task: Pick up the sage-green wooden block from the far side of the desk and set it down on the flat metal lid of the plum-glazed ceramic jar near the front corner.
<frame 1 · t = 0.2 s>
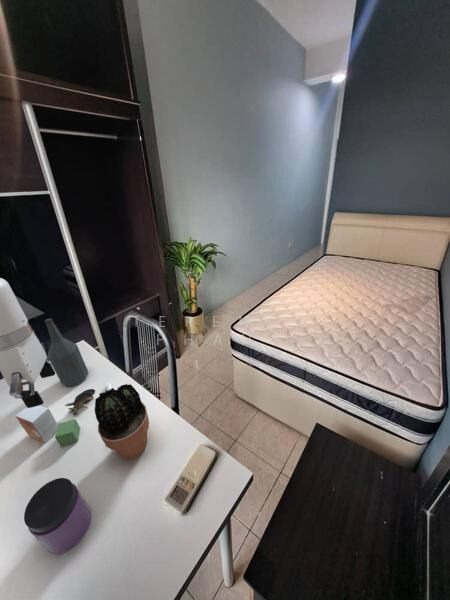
hand: (42, 389, 61), 30 cm above the table, tool pointing down, fingers open, 9 cm apart
jar: (69, 526, 61), on the table
block: (70, 437, 82), on the table
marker: (114, 399, 95), on the table
potted plant: (133, 445, 78), on the table
bottle: (75, 378, 105), on the table
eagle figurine: (84, 406, 92), on the table
jar lid: (50, 502, 55), point 12 cm above the table, screwed on, not yet turned
small box: (45, 432, 84), on the table
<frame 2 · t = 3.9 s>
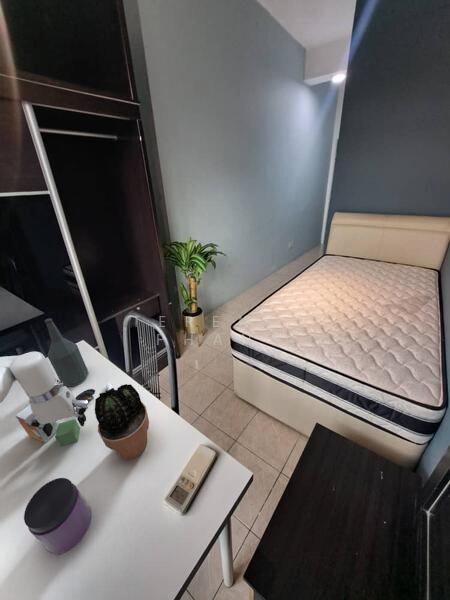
hand: (67, 427, 79), 5 cm above the table, tool pointing down, fingers open, 9 cm apart
small box: (45, 432, 84), on the table, touching gripper
everything else where it was.
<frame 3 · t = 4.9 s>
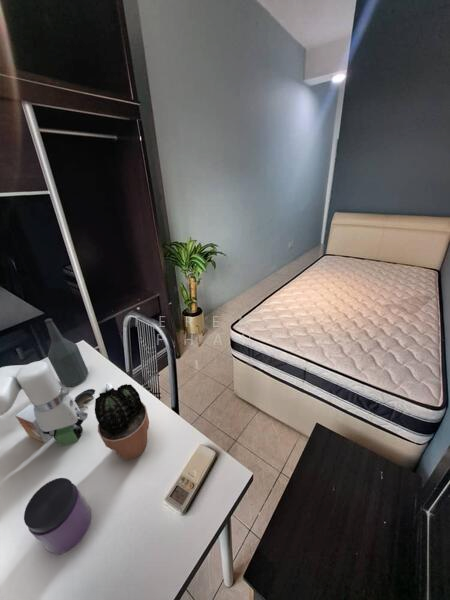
hand: (70, 436, 81), 0 cm above the table, tool pointing down, fingers closed on block, 5 cm apart
block: (70, 437, 82), on the table, touching gripper
small box: (45, 432, 84), on the table
everything else where it was.
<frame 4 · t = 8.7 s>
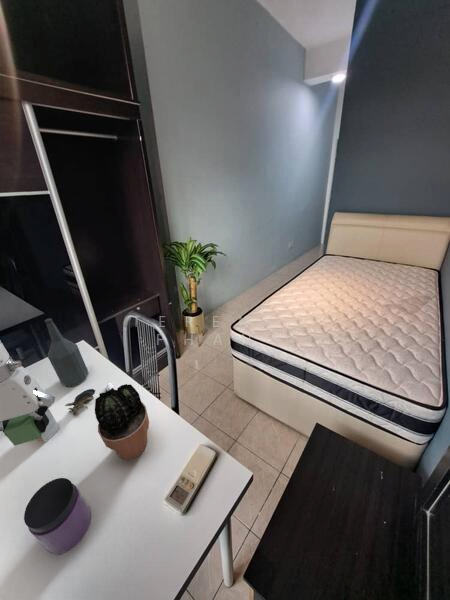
hand: (30, 430, 56), 26 cm above the table, tool pointing down, fingers closed on block, 5 cm apart
block: (31, 432, 56), point 25 cm above the table, touching gripper
everything else where it was.
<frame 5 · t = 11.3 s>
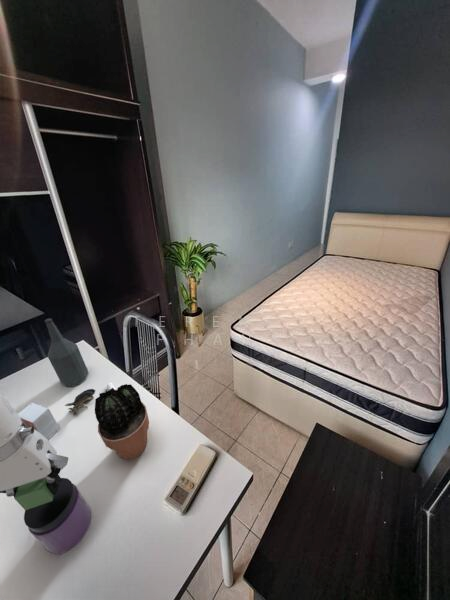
hand: (42, 491, 53), 17 cm above the table, tool pointing down, fingers closed on block, 5 cm apart
block: (42, 492, 53), point 16 cm above the table, touching gripper
everything else where it was.
when the fingers open (13 cm above the table, at t = 12.8 s): block stays where it is, resting on jar lid.
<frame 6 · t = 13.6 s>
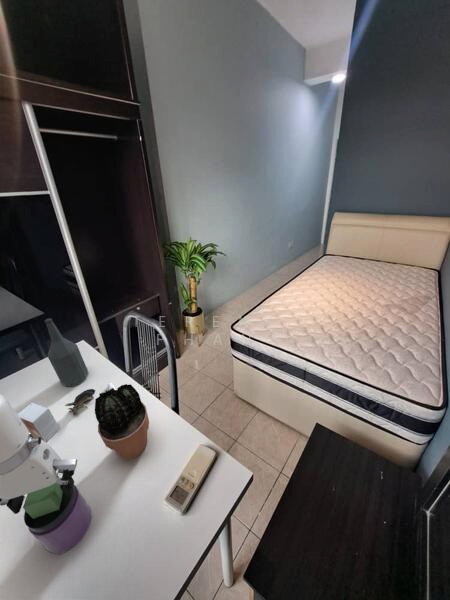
hand: (45, 496, 54), 15 cm above the table, tool pointing down, fingers open, 9 cm apart
block: (49, 501, 55), point 13 cm above the table, touching jar lid
jar lid: (50, 502, 55), point 12 cm above the table, screwed on, not yet turned, touching block
everything else where it was.
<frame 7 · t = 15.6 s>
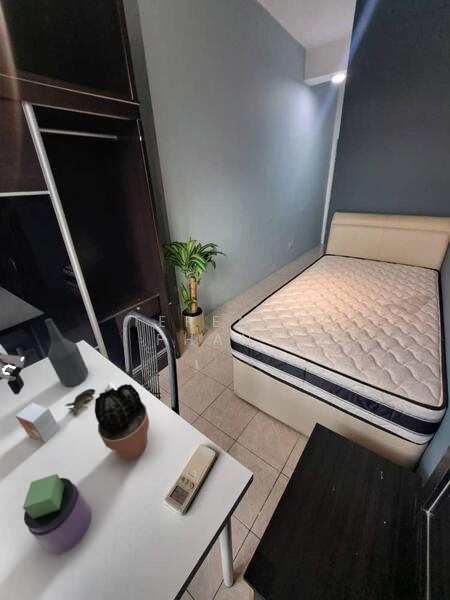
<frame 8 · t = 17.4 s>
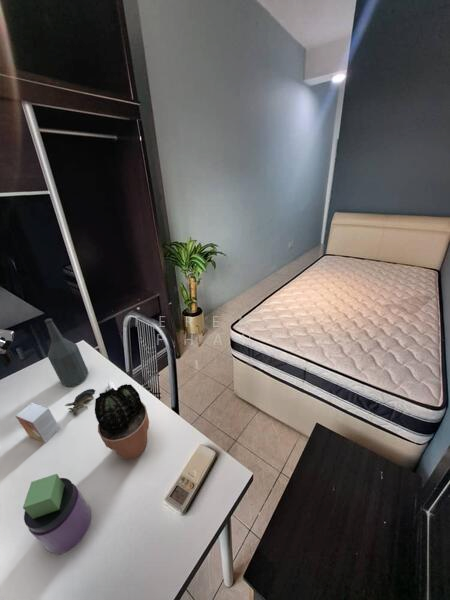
at the end: block 0.0 cm off-centre on the jar, point 12.6 cm above the jar's base; block tilted 0°; the gripper is holding nothing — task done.
